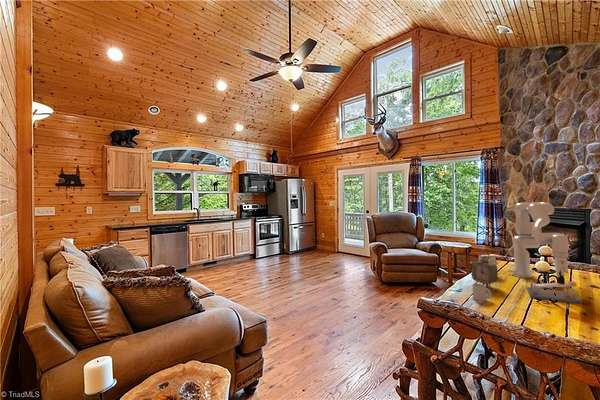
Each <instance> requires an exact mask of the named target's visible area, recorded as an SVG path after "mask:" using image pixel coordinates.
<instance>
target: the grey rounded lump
mask: <svg viewBox="0 0 600 400" xmlns="http://www.w3.org/2000/svg"><path fill="white" fill-rule="evenodd" d="M491 297H492V291H491V289H489V287H487V286H486V284H484V283H477V284H474V283H473V284H472V298H473V300H475V301H478V302H485V301H487V299H490V298H491Z"/></svg>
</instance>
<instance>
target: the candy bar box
mask: <svg viewBox="0 0 600 400" xmlns="http://www.w3.org/2000/svg"><path fill="white" fill-rule="evenodd" d="M488 255H489V257H488ZM488 255H487V254H480V255H479V254H478V261H480V260H481V259H482V257H483V256H485V257H488V258H486V259H487V260H488V262H491V263H494V264H496V265H497V255H495V254H488ZM480 256H482V257H480Z"/></svg>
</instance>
